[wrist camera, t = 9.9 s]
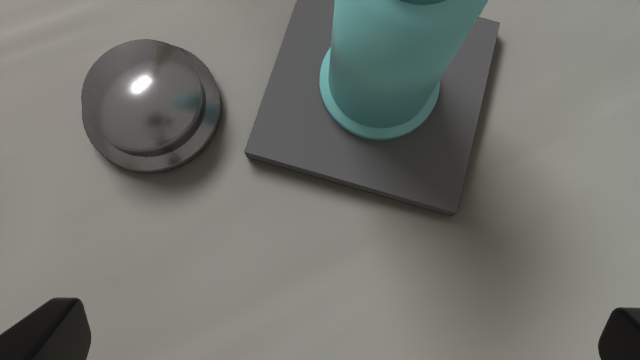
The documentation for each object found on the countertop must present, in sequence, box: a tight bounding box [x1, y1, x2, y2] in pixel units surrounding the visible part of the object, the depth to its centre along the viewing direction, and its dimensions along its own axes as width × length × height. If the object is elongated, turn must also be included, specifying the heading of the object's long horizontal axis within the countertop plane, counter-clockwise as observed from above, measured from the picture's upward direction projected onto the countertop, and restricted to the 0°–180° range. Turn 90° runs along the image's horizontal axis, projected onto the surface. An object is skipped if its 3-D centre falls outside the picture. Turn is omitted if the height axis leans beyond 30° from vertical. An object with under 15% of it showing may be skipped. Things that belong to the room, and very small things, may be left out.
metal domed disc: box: [81, 39, 221, 173], centre depth 23 cm, size 6×6×2 cm
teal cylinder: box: [319, 0, 488, 141], centre depth 19 cm, size 6×6×10 cm
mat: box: [244, 0, 500, 216], centre depth 24 cm, size 10×10×1 cm
